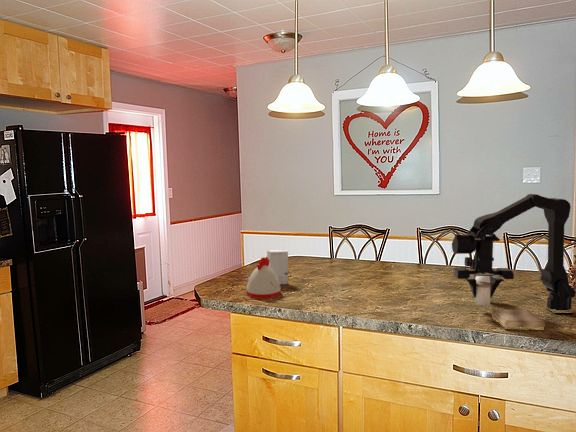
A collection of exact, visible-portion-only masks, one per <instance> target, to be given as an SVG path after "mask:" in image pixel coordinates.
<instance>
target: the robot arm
mask: <svg viewBox="0 0 576 432" xmlns="http://www.w3.org/2000/svg"><path fill="white" fill-rule="evenodd" d="M571 207H572V206H571V203H570V202H569V201H568V200H567V199H563V198H556V197H545V196H543V195H540V194H537V193H536V194H535V193H528V194H527V195H526V196H524V197H522V198H521V199H519V200H517V201H515V202H512V203H511V204H509V205H507V206H506V207H504V208H502V209H499V211H496V212H495V211H494V212H493V213H488V214H484V215H481V216H478V217H477V218H475V219H474V222H473V225H472V227H471V228H470V229H469V230H468V232H467V233H466V234H460V233H455V234H454V238H453V239H452V242H451V249H452V252H453V254H455V255H458V254H459V255H463V254H464V255H465V254H467V255H469V254H471V255H472V254H473V253H474V254H473V259H472V257H470V256H469V257H467V256H465V257H464V267H455V268H454V269H453V276H454V277H455V278H456V279H460V280H462V279H463V280H465V281H467V282H468V283H467V284H468V285H469V287H470V291H471V293H472V297H473V298H474V299H475V298H476V279H475V277H476V276H490V283H491V289H490V299H492V298H493V295H494V294H495V292H496V290H497V288H498V287H499V286H500V284H501V283H502V282H504V281H505V280H514V278H515V273H514V271H513V270H512V269H509V268H507V267H497V268H496V269H495V270H494V269H493V263H494V261H495V258H494V242H499V241H501V239H500V237H498V236H497V235H496V234H495V233H496V232H497V231H498V230H500V229H501V228H502V226H503V225H504V224H506V222H509V221H510V220H512V219H514V218H516V217H517V216H520V215H523V214H524V213H526V212H527V211H530V210H532V209H534V208H539V209H542V210H543V214H544V218H545V220H546V221H547V225H548V228H547V230H548V233H547V234H548V235H547V236H548V237H547V238H548V239H547V265H546V267H545V268H541V269H540V273H541V274H540V281H541V283H542V285H543V286H544V287H545V288H546V291H547V292H549V293H548V296H547V298H546V299H547V300H546V307H548V308H550V309H556V310H569V309H571V310H572V303H573V302H572V299H573V298H575V297H576V290H575V289H574V288H573V287H572V286H571V285H570V283H569V276H568V272H567V271H566V270H567V269H566V268H565V266H564V260H565V259H564V258H565V257H564V256H565V253H564V252H565V225H566V223H567V221H568V219H569V218H570V213H571V209H572V208H571ZM467 267H469V268H467Z"/></svg>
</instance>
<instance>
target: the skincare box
mask: <svg viewBox="0 0 576 432" xmlns="http://www.w3.org/2000/svg"><path fill="white" fill-rule="evenodd" d="M266 257H268V259H270V261H269V266H268V267H270V268H271V269H272V270H273V271H274V273H275V274H276V276H277V278H279V280H280V286H281V285H288V283H289V282H288V277H289V271H288V270H289V268H288V266H289V262H288V261H289V251H288V250H285V249H270V250H266Z"/></svg>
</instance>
